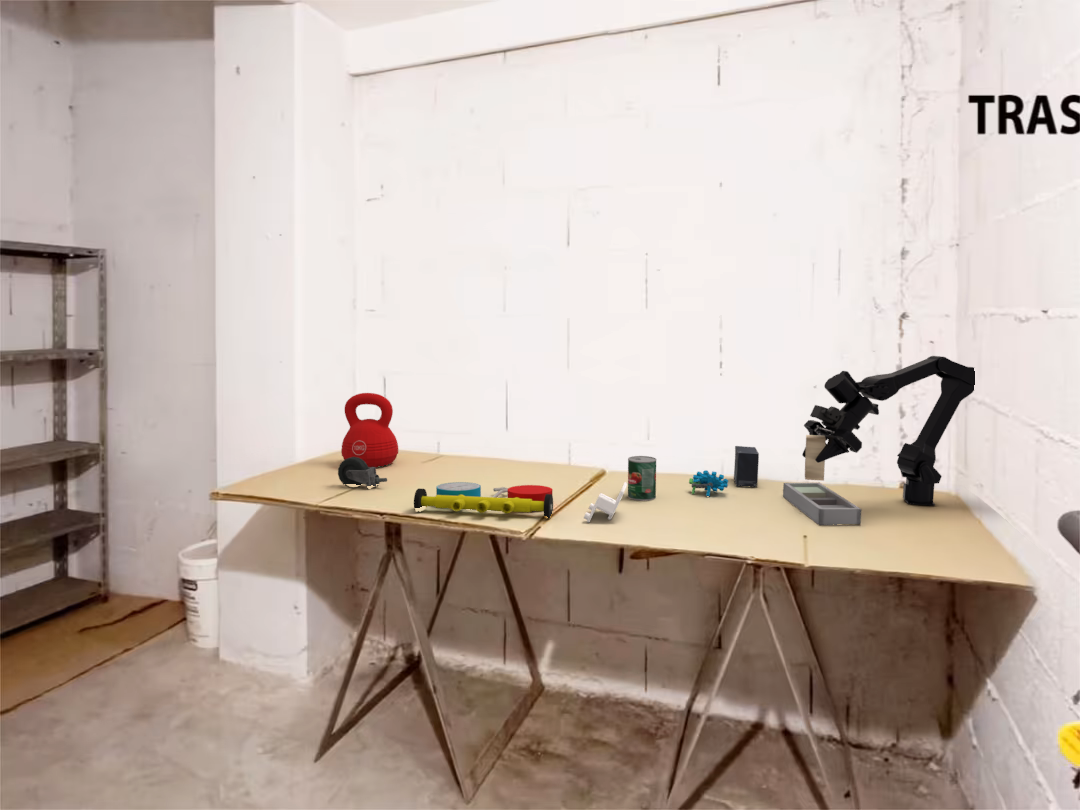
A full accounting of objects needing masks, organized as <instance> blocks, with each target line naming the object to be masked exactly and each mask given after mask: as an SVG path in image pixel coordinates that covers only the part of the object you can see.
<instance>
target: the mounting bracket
mask: <svg viewBox="0 0 1080 810" xmlns="http://www.w3.org/2000/svg"><path fill="white" fill-rule="evenodd" d="M627 488H628V482H626V481H624V482H623V485H622V487H621V489H620V491H619V494H618V495H617V497H616V499H614V498H612V497H610V496H608V495H606V494H604V493H601V492H600V493H599V495H598V497H597V498H596V501H595V503H592V502H591V503H590V504H589V507H588V509H589V510H590V512H587V511H586V512H585V513H584V516H583V519H585V520H586V523H590V521H591V519H592V517H593V516H594V514H595V511H596V509H597V510H599V511H602V512H603V513H605V514H606V515H607V516H608V517H607V520H608V521H612V518H613V517H614V514H615V512H616V510H617V508H618V506H619V504H620V502H621V499H622V498H623V496H624V493H625V492H626V489H627Z"/></svg>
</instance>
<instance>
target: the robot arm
mask: <svg viewBox="0 0 1080 810" xmlns="http://www.w3.org/2000/svg"><path fill="white" fill-rule="evenodd" d="M974 368H975V367H973V366H966V365H963V364H961V363H959V362H957V361H953V360H951V359H949V358H947V357H946V356H940V355H939V356H938V355H931V356H928V357H927V358H925V359H924V360H921V361H919V362H916V363H913V364H911V365H908V366H906V367H903V368H900V369H898V370H895V371H893V372H890V373H883V374H882V373H881V374H875V375H872V376H867V377H864V378H862V380H861V381H856V380H855V379H854V378H853V377H852V375H851V374H850V373H849V371H847V370H842V371H841V372H840V373H837V374H835V375H833V376H832V377H830V378H828V379H827V380H826V382H825V383H824V389H825V390H826V391H827V392H828V393H829V394H830V395H831V397H833V399H834V400H835V401H837V403H838V404H844V405H843V406H842V407H841V408H837V407H835V406H832V405H831V406H829V407H828V408H827V407H825V406H821V405H817V404H814V407H813V408H812V410H811V413H810V414H809V416H810V417H811V418H815V419H817V420H814V419H810V420H809V419H808V420H807V421H806V422H805V423H804V425H803V427H805V429H806V430H807V432H808V433H809V434H808V435H821V436H825V438H826V441H827V442H826V444H825V447H824V448H823V450H822V451H821V452H820V454H819V455H818V456H817V458H816V459H815V460H816V462H818V463H819V462H822V461H824V460H825V461H827V460H829V459H832V458H835V457H838V456H840V455H843V454H846V453H847V454H848V453H850V452H853V453H855V454H857V453H859V451H860V450H861V449H862V448H863V442H862V440H860V438H859V437H858V436H857V435H856V434H855V433H854V432H853V430H857V431H858V430H859V429H860V428H861V426H860V425H859V424H860V423H861V422H862V421H863V420H864V418H866V417H867V416H868V414H872V415H877V416H879V415H880V410H879V404H877V403H873V402H872V401H871V400H875V401H881V402H883V401H887V400H889V398H891V397H893V396H895V395H896V394H898V392H899V391H900V390H901V389H902V388H904V387H906V386H909V385H912V384H914V383H917V382H920V381H921V380H923V379H926V378H929V377H931V376H933V375H936V376H937V377H939V378H941V381H940V392H941V394H940V395H939V397H938V399H937V401H936V403H935V404H934V407H933V408H932V410H931V412H930V414H929V416H928V417H927V420H926V421H925V423H924V425H923V427H922V428H921V430H920V433H919V434H918V436H917V438H916V440H915V441H913V442H911V443H907V442H905V443H904V444H903V445H902V448H901V450H900V451H899V453H898V454H897V457H898V458H897V460H896V464H897V467H898V469H899V470H900V473H901V476H902V478H906V479H905V483H903V490H902V498H903V500H904V501H905V502H906V503H907V504H908V505H916V506H917V505H919V506H929V507H930V506H931V507H932V506H935V505H936V504H935V502H934V496H935V495H934V494H935V492H934V491H935V485H936V484H940V482H941V479H942V477H943V476H942V474H941V473H939V471H938V470H937V469H936V468H935V466H934V465H935V463H936V459H937V458H936V448H937V446H938V444H939V442H940V440H941V439H942V437H943V435H944V433H945V431H946V430H947V428H948V426H949V424H950V423H951V421H952V418H953V417H954V415H955V412H956V411H957V409H958V407H959V405H960V404H961V402H962V401H963V400H964V399H966V398H967V397H969V396H970V395H971V394H973V393H974V391H975V390H974V385H975V371H974ZM818 420H820V421H821V422H820V421H818ZM805 453H806V446H805V447H804V450H803V451H802V457H803V458H805Z"/></svg>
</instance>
